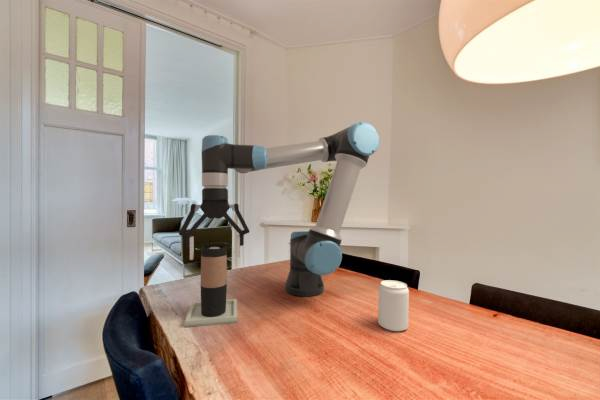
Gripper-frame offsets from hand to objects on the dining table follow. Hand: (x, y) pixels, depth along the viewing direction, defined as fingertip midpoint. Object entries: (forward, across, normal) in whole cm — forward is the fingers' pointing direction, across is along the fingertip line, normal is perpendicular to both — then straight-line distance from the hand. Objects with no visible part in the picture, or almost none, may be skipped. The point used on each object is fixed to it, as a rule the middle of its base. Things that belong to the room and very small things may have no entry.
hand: (215, 257), depth 83 cm
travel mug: (+17, +1, 0) cm, 17 cm away
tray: (+17, +1, 0) cm, 17 cm away
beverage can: (+18, -49, +18) cm, 56 cm away
